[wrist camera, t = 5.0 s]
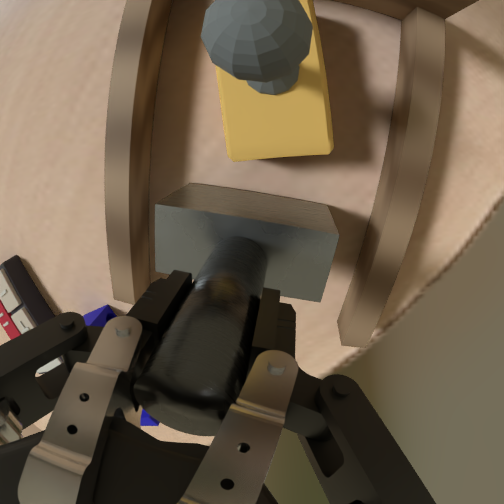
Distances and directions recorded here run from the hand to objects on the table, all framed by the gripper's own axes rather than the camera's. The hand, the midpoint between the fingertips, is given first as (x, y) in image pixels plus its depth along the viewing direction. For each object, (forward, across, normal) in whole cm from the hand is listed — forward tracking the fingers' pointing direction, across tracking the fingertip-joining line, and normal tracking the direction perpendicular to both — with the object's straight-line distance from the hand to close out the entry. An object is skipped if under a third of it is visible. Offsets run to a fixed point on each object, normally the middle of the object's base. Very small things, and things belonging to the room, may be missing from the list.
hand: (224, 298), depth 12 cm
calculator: (+10, +28, +17) cm, 34 cm away
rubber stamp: (+9, 0, -10) cm, 14 cm away
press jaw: (+9, 0, -1) cm, 9 cm away
